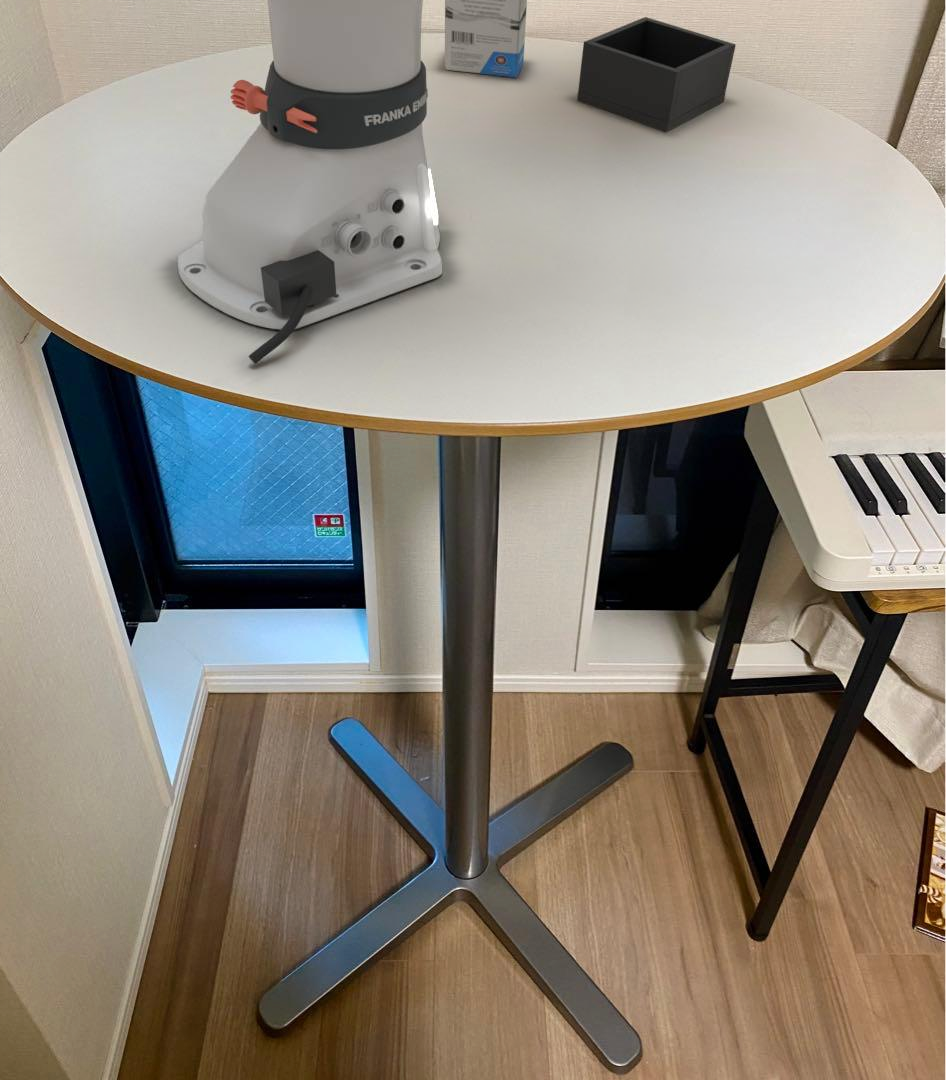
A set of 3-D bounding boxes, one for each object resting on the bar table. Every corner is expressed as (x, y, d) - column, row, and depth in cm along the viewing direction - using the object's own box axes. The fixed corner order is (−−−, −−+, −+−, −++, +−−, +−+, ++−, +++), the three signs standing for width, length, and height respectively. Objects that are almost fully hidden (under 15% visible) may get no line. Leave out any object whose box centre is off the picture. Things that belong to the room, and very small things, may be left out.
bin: (666, 132, 103) (677, 72, 99) (577, 100, 108) (583, 41, 104) (723, 101, 109) (736, 44, 105) (636, 72, 114) (645, 16, 110)
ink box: (524, 64, 115) (533, -50, 107) (516, 79, 111) (524, -37, 103) (452, 55, 116) (455, -59, 108) (442, 70, 113) (444, -46, 104)
